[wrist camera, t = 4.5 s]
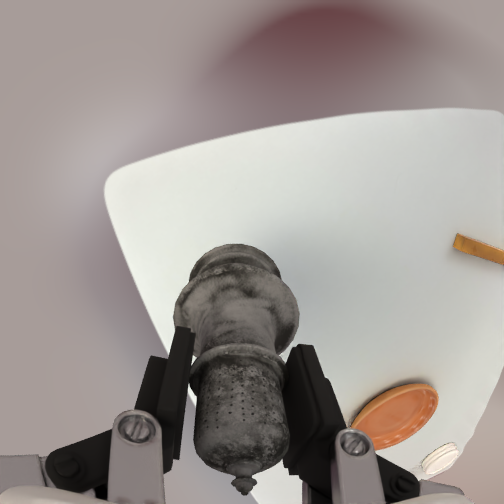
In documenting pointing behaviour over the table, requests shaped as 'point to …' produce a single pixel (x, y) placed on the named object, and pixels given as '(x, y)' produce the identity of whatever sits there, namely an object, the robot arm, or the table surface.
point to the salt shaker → (239, 359)
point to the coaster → (440, 458)
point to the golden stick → (479, 249)
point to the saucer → (397, 414)
